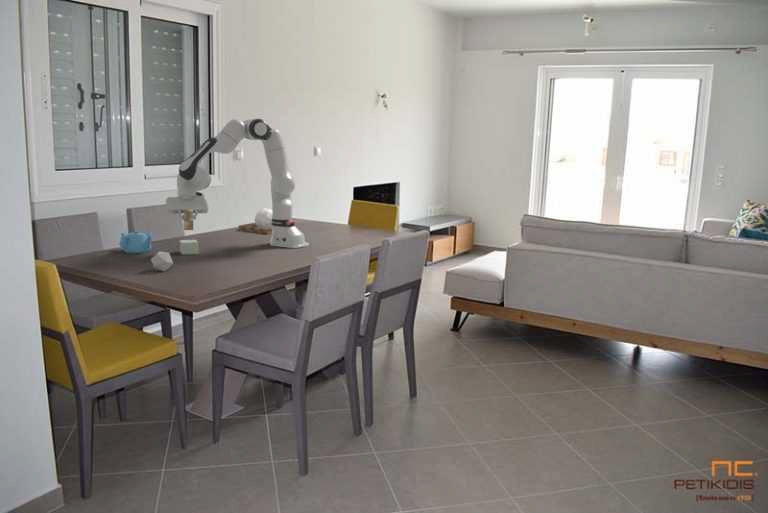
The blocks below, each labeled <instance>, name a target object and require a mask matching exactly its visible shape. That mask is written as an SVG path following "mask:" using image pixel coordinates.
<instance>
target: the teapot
mask: <svg viewBox="0 0 768 513" xmlns="http://www.w3.org/2000/svg"><path fill="white" fill-rule="evenodd" d="M120 235H121V236H120V240H119V246H120V247H121V249H122V251H123V252H125V254H133V253H135V254H136V253H137V254H145V252H146V253H148V252H150V251H151V249H152V244H151V243H152V242H151V241H152V237H153V232H148V233H147V235H146V233H144V232H140V231H139V230H137V229H136V230H135V229H134V230H133V232H130V233H128V234H127V233H126V232H121V233H120ZM135 254H134V255H135Z"/></svg>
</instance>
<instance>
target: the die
mask: <svg viewBox="0 0 768 513" xmlns="http://www.w3.org/2000/svg"><path fill="white" fill-rule="evenodd" d="M150 261H151V263H152V265H153V268H154V270H155V271H160V272H166V271H167V270H168V269H169V268H170V267H172V266H173V265H174V261H173V259H172V257H171V254H170V252H165V251H158V252H157V253H156V254H155V255H154V256H152V257H151V258H150Z"/></svg>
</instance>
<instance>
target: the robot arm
mask: <svg viewBox="0 0 768 513" xmlns="http://www.w3.org/2000/svg"><path fill="white" fill-rule="evenodd" d="M244 138H245V139H248V140H250V141H251V140H253V141H260V142H261V143H262V145H263V149H264V153H265V158H266V159H265V160H266V163H267V166H268V169H269V172H270V175H271V179H270V192H271V193H270V194H271V206H272V209H271V210H272V221H271V222H272V233H271V234H270V240H269V244H270V246H271V247H282V248H289V249H290V248H291V249H299V248H304V247H305V248H306V247H308V246H309V245H310V243H309V242H306V241H305V240H306V239H305V235H304V233H303V232H302V231H301V230H300V229H299V228H298V227H296V223H297V220H294V219H293V202H292V200H293V199H292V193H293V192H294V190H295V188H296V183H295V181H294V176H293V173H292V170H291V166H290V164H289V159H288V155H287V150H286V146H285V142H284V139H283V136H282V133H281V131H280V130H279V129H277V128H272V127H271V126H270V125H269V124H268V123H267V122H266V121H265V120H264V119H262V118H250V119H248V120H245V121H242V120H240V119H238V118H233V119H231V120H230V121H228V122H227V123H226V124H225V125H224V126H223V128H222V129H221V131H220V132H218V134H216V135H215V136H214V137H210V138H207V139H206V140H205V141H204V142H203V143H202V144H200V146H199V147H198V148H197V149H196V150H195V151H194V152H193V153H192V154H191V155H190V156H188V158H186V159H185V160H183V161H182V162H181V163H180V164H179V167H178V175H177V177H176V187H177V196H174V197H172V196H168V197H167V198H166V199H165V203H166V213H168V214H171V215H172V214H178V215H177V216H178V217H179V218H180V220H181V221H183V220H184V215H183V209H193V221H194V220H196V219H197V216H198V214H207V213H208V212H209V205H208V201H207V199H206V197H205V193H204V192H199V191H202V190H205V189H207V188H208V187H209V186H210V184H211V181H212V176H211V174H210V173H209V172H207V171H206V170H205V169H203V167H201V166H199V165H200V163H201V162H202V161H203V160H204V159H205V158H206V157H207V156H208V155H209V154H210V153H219V154H223V155H228V154H230V153H231V154H232V153H233V151H234V150H235V149H236V148H238V145H239V144H240V142H241V141H242V140H243V139H244Z"/></svg>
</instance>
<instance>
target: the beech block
mask: <svg viewBox="0 0 768 513" xmlns="http://www.w3.org/2000/svg"><path fill="white" fill-rule="evenodd" d="M182 215H184V220H182V221H183V222H182V223H183V230H184V231H194V220H193V215H194V213H193V209H183V213H182Z"/></svg>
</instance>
